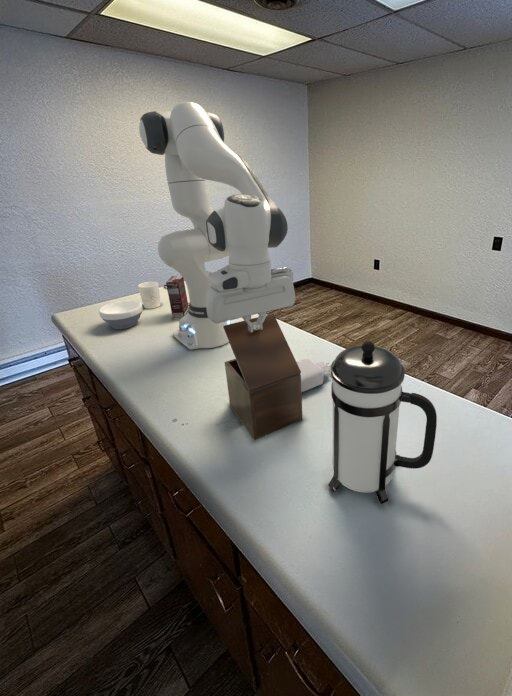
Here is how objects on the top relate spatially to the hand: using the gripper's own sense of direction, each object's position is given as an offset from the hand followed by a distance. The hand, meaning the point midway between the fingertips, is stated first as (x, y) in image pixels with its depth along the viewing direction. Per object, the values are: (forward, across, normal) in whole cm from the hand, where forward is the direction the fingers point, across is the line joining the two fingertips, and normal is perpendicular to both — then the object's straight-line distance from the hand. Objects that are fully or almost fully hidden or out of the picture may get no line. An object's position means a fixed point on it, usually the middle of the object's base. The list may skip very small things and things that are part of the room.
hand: (255, 330), depth 83 cm
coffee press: (+22, -9, +32) cm, 39 cm away
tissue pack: (+22, -17, -4) cm, 28 cm away
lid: (+4, 0, +3) cm, 5 cm away
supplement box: (+23, +2, -74) cm, 77 cm away
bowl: (+23, +22, -77) cm, 84 cm away
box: (+22, 0, +2) cm, 22 cm away
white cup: (+23, +10, -92) cm, 96 cm away
